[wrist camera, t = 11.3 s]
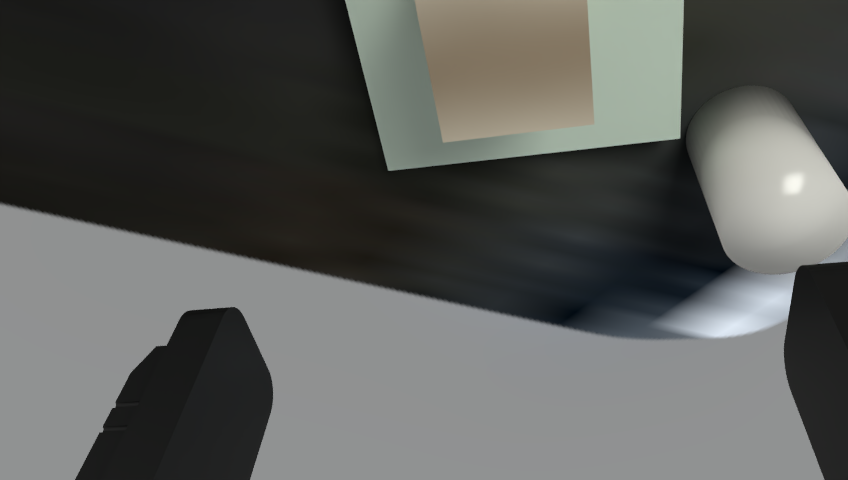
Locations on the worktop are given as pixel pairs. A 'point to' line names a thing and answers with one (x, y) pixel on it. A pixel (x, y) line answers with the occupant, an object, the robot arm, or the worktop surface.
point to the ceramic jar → (766, 181)
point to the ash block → (507, 65)
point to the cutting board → (613, 125)
